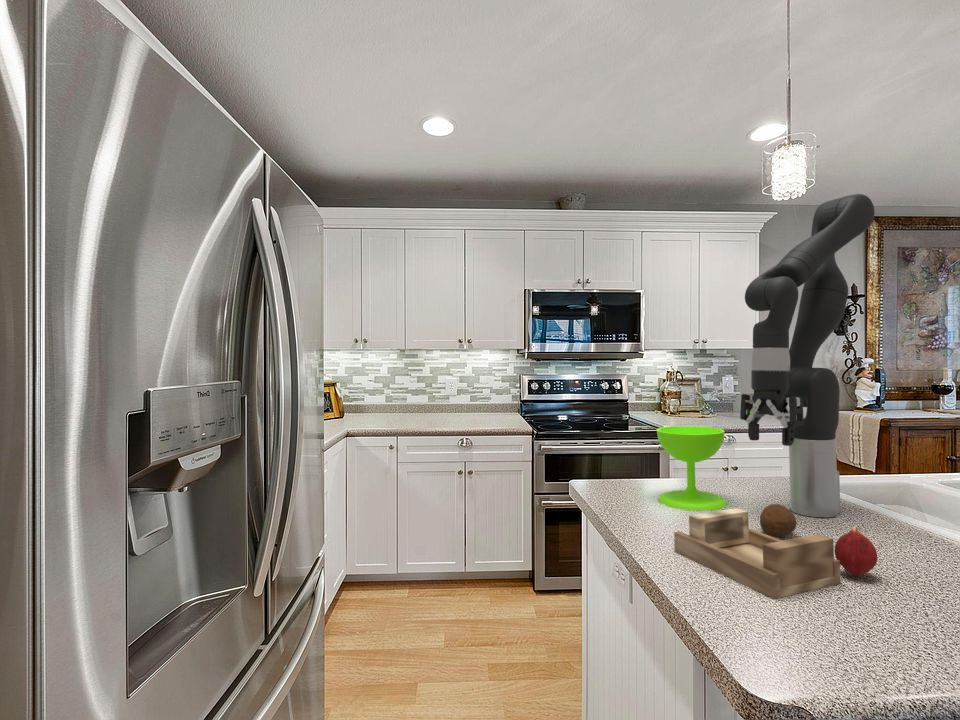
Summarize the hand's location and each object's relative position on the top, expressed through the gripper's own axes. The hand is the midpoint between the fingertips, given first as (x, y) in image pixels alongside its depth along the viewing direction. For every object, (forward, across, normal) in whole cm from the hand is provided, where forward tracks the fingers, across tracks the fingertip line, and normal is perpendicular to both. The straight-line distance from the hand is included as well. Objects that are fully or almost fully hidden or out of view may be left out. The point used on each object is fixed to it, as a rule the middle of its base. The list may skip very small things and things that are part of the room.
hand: (770, 442), depth 118 cm
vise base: (+18, -17, +24) cm, 34 cm away
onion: (+18, -27, +12) cm, 34 cm away
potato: (+18, -7, +6) cm, 20 cm away
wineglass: (+18, +20, +4) cm, 27 cm away
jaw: (+17, -10, +24) cm, 31 cm away
